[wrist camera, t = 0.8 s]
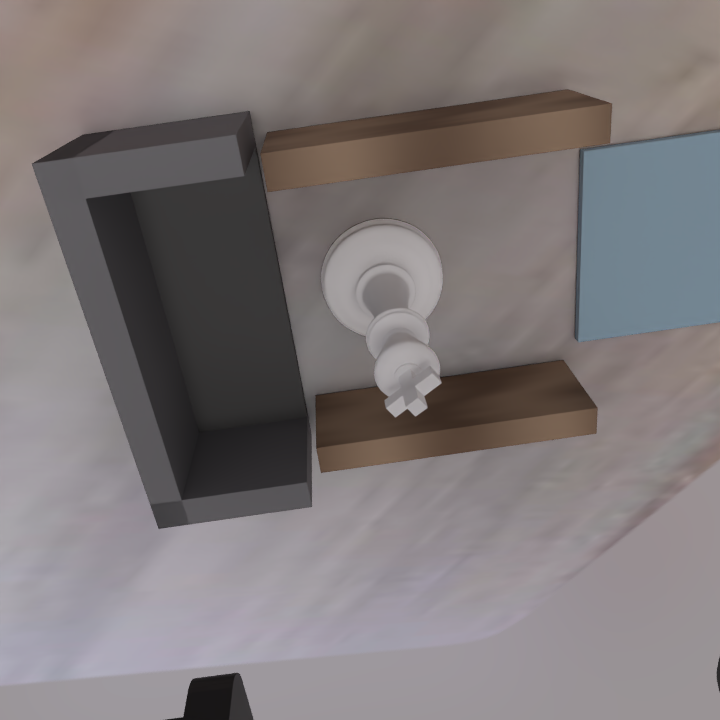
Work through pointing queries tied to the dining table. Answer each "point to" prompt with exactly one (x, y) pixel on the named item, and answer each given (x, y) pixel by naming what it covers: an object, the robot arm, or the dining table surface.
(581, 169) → the pad
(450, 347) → the dining table surface
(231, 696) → the robot arm
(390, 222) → the chess piece
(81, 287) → the grey channel bracket
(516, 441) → the wooden blocks
